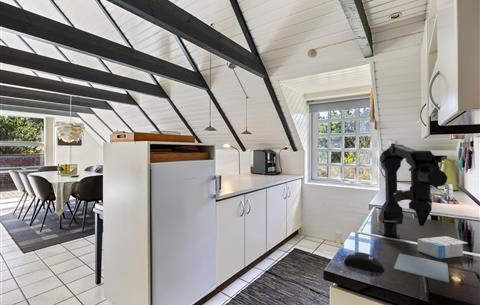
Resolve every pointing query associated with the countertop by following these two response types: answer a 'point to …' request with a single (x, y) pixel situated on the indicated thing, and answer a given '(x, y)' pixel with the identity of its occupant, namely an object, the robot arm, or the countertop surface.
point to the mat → (422, 267)
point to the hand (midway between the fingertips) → (421, 225)
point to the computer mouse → (363, 262)
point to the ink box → (441, 247)
